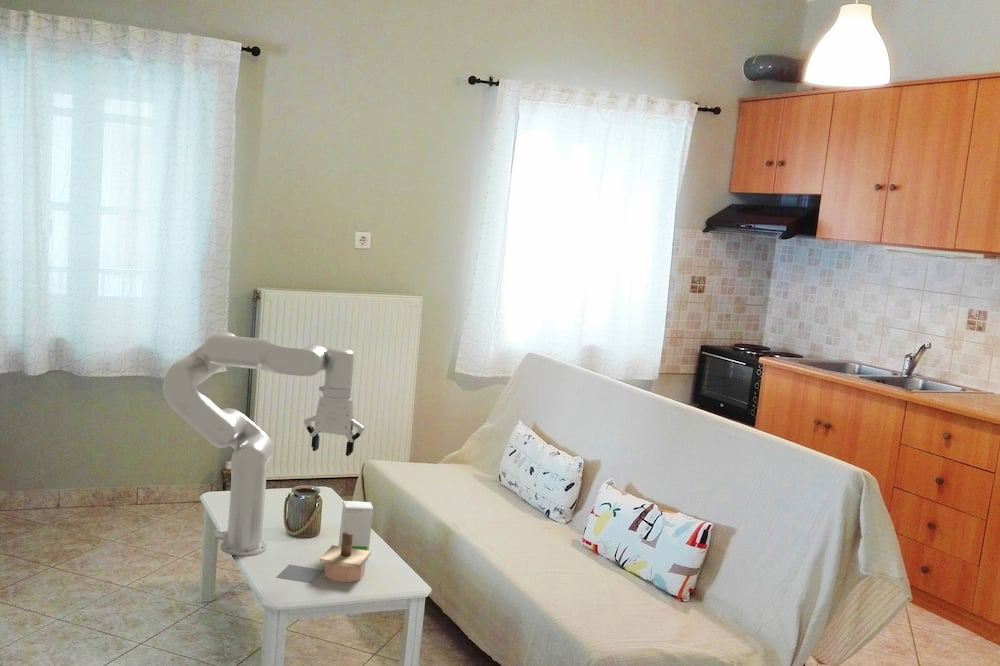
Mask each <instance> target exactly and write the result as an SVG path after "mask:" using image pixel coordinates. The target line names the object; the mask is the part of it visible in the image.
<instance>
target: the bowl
mask: <svg viewBox="0 0 1000 666" xmlns="http://www.w3.org/2000/svg"><path fill="white" fill-rule="evenodd" d="M366 561H367V560H366ZM366 561H365V562H364V563H363V565H362V566H361V567H360V568H354V567H347V566H341V565H334V564H328V563H324V564H325V565H324V576H325V577H327V578H328V579H329V580H331V581H333V582H341V583H352V582H358V581H359V582H360V581H361V580H362V579H363V578H364V576H365V572H366V571H365V570H366Z"/></svg>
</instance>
